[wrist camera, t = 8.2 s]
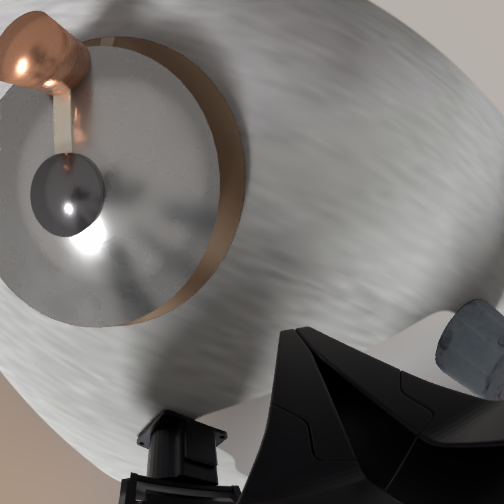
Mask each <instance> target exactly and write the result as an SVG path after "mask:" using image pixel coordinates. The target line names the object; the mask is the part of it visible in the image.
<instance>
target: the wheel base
mask: <svg viewBox="0 0 504 504" xmlns="http://www.w3.org/2000/svg"><path fill="white" fill-rule="evenodd" d="M81 43H82V44H84V45H85V46H86V47H91V46H110V47H119V48H123V49H127V50H131V51H135V52H137V53H140V54H142V55H144V56H147V57H149V58H151V59H153V60H154V61H156V62H158V63H159V64H161V65H162V66H164V67H165V68H167V69H168V70H169V71H170V72H171V73H173V74H174V75H175V76H176V77H177V78H178V79H179V80H180V81H181V82H182V83H183V84H184V85H185V87H186V88H187V89H188V90H189V91H190V93H191V94H192V95H193V96H194V98H195V100H196V101H197V103H198V105H199V106H200V108H201V110H202V111H203V113H204V115H205V118H206V120H207V123H208V125H209V127H210V130H211V132H212V136H213V140H214V143H215V147H216V151H217V157H218V164H219V172H220V196H219V204H218V212H217V218H216V221H215V225H214V229H213V233H212V236H211V239H210V241H209V244H208V246H207V249H206V251H205V254H204V256H203V257H202V259H201V261H200V263H199V264H198V266H197V268H196V270H195V271H194V273H193V274H192V275H191V277H190V278H189V279H188V281H187V282H186V283H185V285H184V286H183V287H182V288H181V289H180V290H179V291H178V292H177V293H176V294H175V295H174V296H173V297H172V298H171V299H170V300H168V301H167V302H166V303H164V304H163V305H162V306H161V307H159V308H158V309H156V310H154V311H153V312H151V313H149V314H147V315H146V316H144V317H141V318H139V319H136V320H134V321H131V322H128V323H124V324H120V325H116V326H126V325H132V324H137V323H142V322H145V321H148V320H151V319H154V318H157V317H159V316H161V315H163V314H165V313H167V312H169V311H171V310H173V309H175V308H176V307H177V306H179V305H180V304H182V303H183V302H185V301H186V300H188V299H189V298H190V297H191V296H192V295H193V294H195V293H196V292H197V291H198V290H199V289H200V288H201V287H202V286H203V285H204V284H205V283H206V281H207V280H208V279H209V278H210V277H211V276H212V275H213V273H214V272H215V270H216V269H217V267H218V266H219V264H220V263H221V261H222V260H223V258H224V257H225V255H226V253H227V251H228V249H229V246H230V244H231V242H232V240H233V238H234V235H235V232H236V229H237V226H238V223H239V220H240V216H241V211H242V206H243V201H244V190H245V164H244V153H243V148H242V144H241V139H240V134H239V131H238V129H237V126H236V123H235V120H234V117H233V115H232V113H231V111H230V109H229V107H228V105H227V103H226V101H225V99H224V97H223V96H222V94H221V93H220V92H219V90H218V89H217V87H216V86H215V85H214V83H213V82H212V81H211V79H210V78H209V77H208V76H207V75H206V74H205V73H204V72H203V71H202V70H201V69H200V68H199V67H198V66H196V65H195V64H194V63H192V62H191V61H190V60H188V59H187V58H186V57H184V56H183V55H181V54H180V53H178V52H176V51H174V50H172V49H170V48H168V47H166V46H164V45H161V44H158V43H155V42H152V41H149V40H144V39H138V38H132V37H104V38H98V39H92V40H88V41H85V42H81ZM109 327H111V326H109Z"/></svg>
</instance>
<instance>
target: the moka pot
mask: <svg viewBox="0 0 504 504" xmlns="http://www.w3.org/2000/svg"><path fill="white" fill-rule="evenodd" d="M435 355H436V358H435V360H436V364H437V365H438V367H439V368H440V369H441V370H442V371H443V372H444V373H445V374H447V375H448V376H450V377H451V378H453V379H454V380H455V381H457V382H459V383H460V384H461V385H463V386H464V387H466V388H467V389H469V390H470V391H472V392H473V393H474V394H476V395H478V396H479V397H480V398H482V399H486V400H493V401H499V400H504V316H503V315H502V314H501V313H499V312H498V311H497V310H496V309H495V308H494V307H493V306H491V305H490V304H489V303H488V302H487V301H483V300H473V301H471V302H469V303H468V304H466V305H465V306H463V307H462V308H461V309H460V310H459V311H458V312H457V313H456V314H455V315H454V316H453V318H452V319H451V320H450V322H449V323H448V325H447V326H446V328H445V330H444V332H443V333H442V335H441V338H440V340H439V342H438V346H437V350H436V354H435Z"/></svg>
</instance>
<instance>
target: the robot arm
mask: <svg viewBox="0 0 504 504" xmlns="http://www.w3.org/2000/svg"><path fill="white" fill-rule="evenodd" d="M226 438H227V433H226V432H225V431H222V430H219V429H216V428H214V427H211V426H208V425H205V424H203V423H200V422H197V421H195V420H192V419H190V418H187V417H185V416H182V415H180V414H177V413H175V412H172V411H170V410H164V411H163V412H162V413H161V414H160V415H159V416H158V417H157V418H156V419H155V420H154V422H153V423H152V424H151V425H150V426H149V427H148V428H147V429H146V430H145V431H144V432H143V433H142V434H141V436H140V437H139V438H138V439H137V444H138V445H140V446H142V447H145V448H147V449H149V454H148V466H147V476H142V475H138V474H137V473H132V472H131V476H130V478H128V479H122V482H121V491H120V498H119V504H504V400H499V401H493V400H486V399H482V398H478V397H475V396H472V395H468V394H465V393H462V392H458V391H455V390H452V389H449V388H445V387H442V386H440V385H437V384H434V383H431V382H428V381H426V380H423V379H421V378H418V377H416V376H414V375H411V374H409V373H407V372H404V371H400V369H398V368H395V367H393V366H391V365H389V364H387V363H384V362H382V361H380V360H378V359H375V358H374V357H371V356H369V355H367V354H365V353H363V352H361V351H359V350H356V349H354V348H352V347H350V346H348V345H346V344H344V343H342V342H340V341H338V340H336V339H334V338H331V337H329V336H327V335H325V334H323V333H321V332H319V331H317V330H315V329H313V328H311V327H302V328H297V329H295V330H294V329H290V330H284V331H281V332H280V336H279V344H278V352H277V359H276V367H275V374H274V381H273V388H272V395H271V402H270V407H269V414H268V420H267V424H266V429H265V433H264V436H263V439H262V442H261V446H260V449H259V451H258V454H257V456H256V459H255V462H254V464H253V466H252V469H251V472H250V474H249V476H248V479H247V481H246V484H245V486H244V488H243V491H242V493H241V491H240V488H239V486H233V485H232V486H217V485H218V476H217V467H216V466H217V465H218V463H217V453H216V447H217V446H218V445H219V444H221V443H222V442H223V441H224V440H225V439H226ZM136 500H141V501H136Z"/></svg>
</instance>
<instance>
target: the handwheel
mask: <svg viewBox="0 0 504 504" xmlns="http://www.w3.org/2000/svg"><path fill="white" fill-rule="evenodd" d="M0 81H3V82H7V83H10V84H14V85H13V86H12V87H11V88H10V89H9V90H8V91H7V92H6V94H5V95H4V96H3V98H2V99H1V100H0V277H1V279H2V280H3V281H4V282H5V284H6V285H7V286H8V287H9V288H10V289H11V290H12V291H13V292H14V293H15V294H16V295H17V296H18V297H19V298H20V299H21V300H23V301H24V302H25V303H26V304H28V305H29V306H30V307H32V308H33V309H35V310H37V311H38V312H40V313H42V314H44V315H46V316H48V317H50V318H52V319H54V320H57V321H60V322H63V323H67V324H70V325H76V326H82V327H109V326H116V325H120V324H124V323H128V322H131V321H134V320H136V319H139V318H141V317H144V316H146V315H147V314H149V313H151V312H153V311H154V310H156V309H158V308H159V307H161V306H162V305H163V304H164V303H166V302H167V301H168V300H170V299H171V298H172V297H173V296H174V295H175V294H176V293H177V292H178V291H179V290H180V289H181V288H182V287H183V286H184V285H185V283H186V282H187V281H188V279H189V278H190V277H191V275H192V274H193V273H194V271H195V270H196V268H197V266H198V264H199V263H200V261H201V259H202V257H203V256H204V254H205V251H206V249H207V246H208V244H209V241H210V239H211V236H212V233H213V229H214V225H215V221H216V218H217V212H218V204H219V196H220V172H219V164H218V157H217V151H216V147H215V143H214V140H213V136H212V132H211V130H210V127H209V125H208V123H207V120H206V118H205V115H204V113H203V111H202V110H201V108H200V106H199V105H198V103H197V101H196V100H195V98H194V96H193V95H192V94H191V93H190V91H189V90H188V89H187V88H186V87H185V85H184V84H183V83H182V82H181V81H180V80H179V79H178V78H177V77H176V76H175V75H174V74H173V73H171V72H170V71H169V70H168V69H167V68H165V67H164V66H162V65H161V64H159V63H158V62H156V61H154V60H153V59H151V58H149V57H147V56H144V55H142V54H140V53H137V52H135V51H131V50H127V49H123V48H119V47H110V46H91V47H86V46H85V45H84V44H82V43H81V42H80V41H79V40H78V39H76V38H75V37H74V36H73V35H72V34H70V33H69V32H68V31H67V30H66V29H64V28H63V27H62V26H61V25H59V24H58V23H57V22H56V21H54V20H53V19H52V18H51V17H49V16H48V15H47V14H46V13H44V12H42V11H31V12H28V13H26V14H24V15H22V16H20V17H18V18H17V19H16V20H14V21H13V22H12V23H11V24H10V25H9V26H8V27H7V28H6V29H5V31H4V32H3V33H2V35H1V36H0Z"/></svg>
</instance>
